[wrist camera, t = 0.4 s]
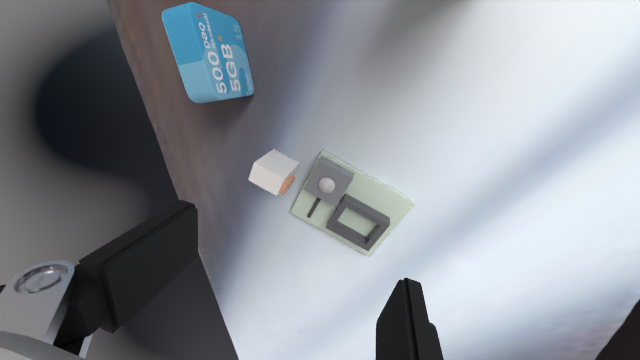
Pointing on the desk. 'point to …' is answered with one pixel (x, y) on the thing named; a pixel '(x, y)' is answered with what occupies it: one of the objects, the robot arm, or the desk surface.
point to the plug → (274, 172)
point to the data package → (208, 53)
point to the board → (350, 204)
